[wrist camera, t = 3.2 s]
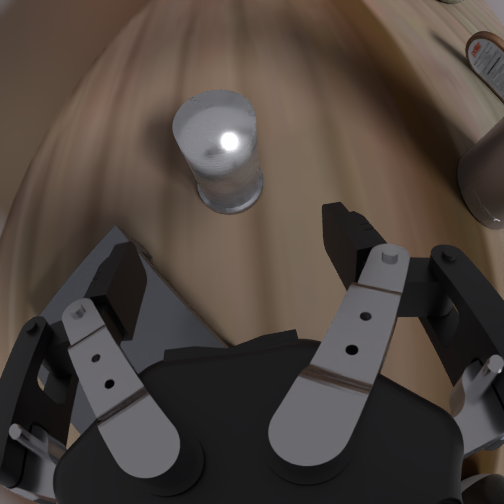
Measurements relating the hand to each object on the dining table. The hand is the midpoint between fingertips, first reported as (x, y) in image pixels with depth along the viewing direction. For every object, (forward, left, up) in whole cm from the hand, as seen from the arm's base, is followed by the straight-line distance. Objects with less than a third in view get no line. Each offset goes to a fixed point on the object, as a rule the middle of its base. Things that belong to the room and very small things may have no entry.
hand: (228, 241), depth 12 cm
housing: (-5, -7, -12) cm, 14 cm away
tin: (-45, +7, -12) cm, 47 cm away
